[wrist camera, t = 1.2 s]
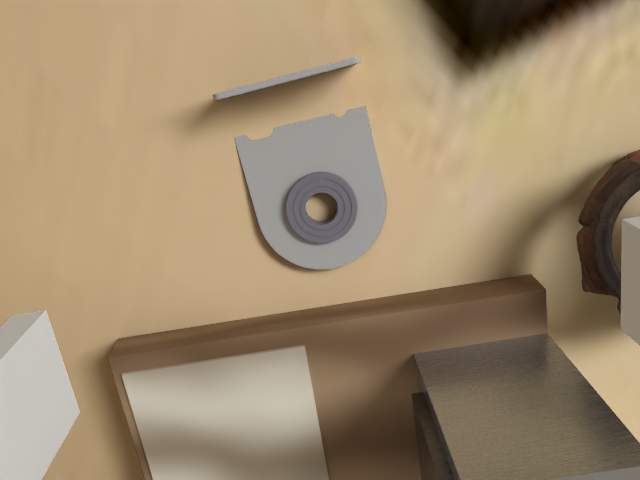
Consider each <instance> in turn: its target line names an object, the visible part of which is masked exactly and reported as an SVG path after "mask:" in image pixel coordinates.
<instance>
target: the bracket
mask: <svg viewBox="0 0 640 480" xmlns="http://www.w3.org/2000/svg"><path fill="white" fill-rule="evenodd" d="M360 62H361V59H360V56H358V57H354V58H350V59H347V60H343V61H339V62H335V63H331V64H328V65H324V66H320V67H316V68H312V69H309V70H305V71H301V72H297V73H293V74H290V75H286V76H282V77H278V78H274V79H271V80H267V81H263V82H259V83H255V84H252V85H248V86H244V87H240V88H236V89H233V90H229V91H225V92H221V93H217V94H214V95H213V98H214V101H215V100H220V99H225V98H229V97H233V96H238V95H242V94H246V93H249V92H253V91H257V90H261V89H265V88H268V87H272V86H276V85H280V84H284V83H287V82H291V81H295V80H299V79H303V78H306V77H310V76H314V75H318V74H322V73H325V72H329V71H333V70H337V69H341V68H343V67H347V66H351V65H355V64H357V63H360ZM234 139H235V143H236V146H237V150H238V153H239V156H240V160H241V163H242V167H243V170H244V174H245V177H246V181H247V184H248V188H249V191H250V195H251V198H252V202H253V205H254V209H255V212H256V216H257V219H258V223H259V226H260V228H261V231H262V233H263V235H264V237H265V239H266V240H267V242H268V243H269V244H270V246H271V247H272V248H273V249H274V250H275V251H276V252H277V253H278V254H279V255H281V256H282V257H283V258H285V259H286V260H288V261H290V262H291V263H294V264H296V265H298V266H302V267H305V268H310V269H333V268H337V267H341V266H343V265H346V264H349V263H351V262H352V261H354V260H356V259H358V258H359V257H360V256H362V255H363V254H364V253H365V252H366V251H367V250H368V249H369V248H370V247H371V246H372V245H373V243H374V242H375V241H376V239H377V237H378V236H379V234H380V232H381V229H382V227H383V224H384V220H385V215H386V195H385V190H384V185H383V181H382V177H381V172H380V168H379V164H378V159H377V155H376V150H375V146H374V142H373V137H372V133H371V129H370V124H369V120H368V115H367V111H366V107H365V106H364V107H360V108H355V109H351V110H348V111H347V113H346V114H345V115H344V116H342V117H337V116H335V115H334V114H330V115H326V116H322V117H318V118H314V119H309V120H305V121H301V122H297V123H293V124H288V125H284V126H280V127H276V128H274V132H273V134H272V135H271V136H270V137H268V138H264V139H260V140H256V141H252V140H250V139H248V137H247V136H246V135H242V136H238V137H234ZM316 193H327V194H329V195H331V196H332V197H334V199H335V200H336V202H337V210H336V213H335V214H334V216H333V217H332V218H330V219H328V220H326V221H316V220H314V219H312V218H311V217H310V216H309V215H308V214H307V212H306V208H305V206H306V203H307V201H308V199H309V198H310V197H311V196H312V195H314V194H316Z"/></svg>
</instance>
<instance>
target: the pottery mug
mask: <svg viewBox="0 0 640 480" xmlns="http://www.w3.org/2000/svg"><path fill="white" fill-rule="evenodd" d="M639 190H640V150H638V151H635V152H633V153H630V154H628V155H627V158H623V159H620V160H619V161H617V162H616V163H615V164H614V165H613V166H612V167H611V168H610V169H609V170H608V171H607V172H606V173H605V175H604V176H603V177H602V178H601V180H600V181H599V182H598V184H597V185H596V186H595V187H594V189H593V190H592V192H591V194H590V195H589V197H588V198H587V201H586V203H585V205H584V207H583V209H582V211H581V214H580V216H579V223H580V224H581V225H582V226H583V228H582V229H581V230H580V231H579V232H578V234H577V247H578V252H579V258H580V261H581V268H582V286H583V290H584V291H585V292H592V293H596V294H604V295H611V296H615V297H617V298H618V299H619V302H618V306H617V308H618V309H619V313H620V315H621V273H620V271H619V270H618V268H617V266H616V264H615V261H614V258H613V254H612V247H611V241H612V232H613V227H614V223H615V221H616V219H617V217H618V215H619V213H620V211H621V209H622V208H623V206H624V205H625V203H626V202H627V201H628V200H629V199H630V198H631V197H632V196H633V195H634V194H635V193H636V192H638V191H639Z"/></svg>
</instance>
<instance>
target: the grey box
mask: <svg viewBox="0 0 640 480" xmlns="http://www.w3.org/2000/svg"><path fill="white" fill-rule="evenodd" d="M414 361H415V370H416V379H417V387H418V393H412V394H411V396H412V404H413V413H414V421H415V429H416V438H417V446H418V455H419V463H420V472H421V480H640V443H639V442H638V441H637V440H636V438H635V437H634V436H633V435H632V434H631V432H630V431H629V430H628V429H627V428H626V426H625V425H624V424H623V423H622V422H621V420H620V419H619V418H618V417H617V416H616V415H615V413H614V412H613V411H612V410H611V409H610V407H609V406H608V405H607V404H606V403H605V401H604V400H603V399H602V398H601V397H600V395H599V394H598V393H597V392H596V391H595V389H594V388H593V387H592V386H591V385H590V383H589V382H588V381H587V380H586V379H585V378H584V376H583V375H582V374H581V373H580V372H579V370H578V369H577V368H576V367H575V366H574V364H573V363H572V362H571V361H570V360H569V358H568V357H567V356H566V355H565V354H564V352H563V351H562V350H561V349H560V348H559V347H558V345H557V344H556V343H555V342H554V341H553V339H552V338H551V337H550V336H549V335H548V333H544V334H538V335H531V336H525V337H518V338H512V339H505V340H499V341H493V342H486V343H480V344H473V345H467V346H460V347H454V348H447V349H441V350H435V351H428V352H422V353H415V354H414Z"/></svg>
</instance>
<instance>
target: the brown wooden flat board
mask: <svg viewBox="0 0 640 480" xmlns="http://www.w3.org/2000/svg"><path fill="white" fill-rule="evenodd" d="M544 333H547V310H546V289H545V288H544V287H543V286H542V285H541V284H540V283H539V282H538V281H537V280H536V279H535V278H534V277H533V276H532V275H531V274H530V275H524V276H517V277H511V278H504V279H498V280H492V281H485V282H479V283H472V284H466V285H460V286H453V287H447V288H440V289H434V290H428V291H421V292H415V293H408V294H402V295H396V296H389V297H383V298H376V299H370V300H364V301H357V302H351V303H344V304H338V305H332V306H325V307H319V308H312V309H306V310H300V311H293V312H287V313H280V314H274V315H268V316H261V317H255V318H248V319H242V320H236V321H229V322H223V323H216V324H210V325H204V326H197V327H191V328H185V329H178V330H172V331H165V332H159V333H153V334H146V335H140V336H133V337H127V338H121V339H118V340H117V342H116V344H115V346H114V347H113V349H112V351H111V353H110V354H109V356H108V361H109V364H110V367H111V371H112V374H113V377H114V380H115V384H116V387H117V390H118V393H119V397H120V400H121V403H122V406H123V410H124V413H125V416H126V419H127V423H128V426H129V429H130V432H131V436H132V439H133V442H134V445H135V449H136V452H137V455H138V458H139V462H140V465H141V468H142V471H143V475H144V478H145V480H421V472H420V463H419V455H418V446H417V438H416V429H415V421H414V413H413V404H412V396H411V394H412V393H418V387H417V379H416V370H415V361H414V354H415V353H422V352H428V351H435V350H441V349H447V348H454V347H460V346H467V345H473V344H480V343H486V342H493V341H499V340H505V339H512V338H518V337H525V336H531V335H538V334H544Z"/></svg>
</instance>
